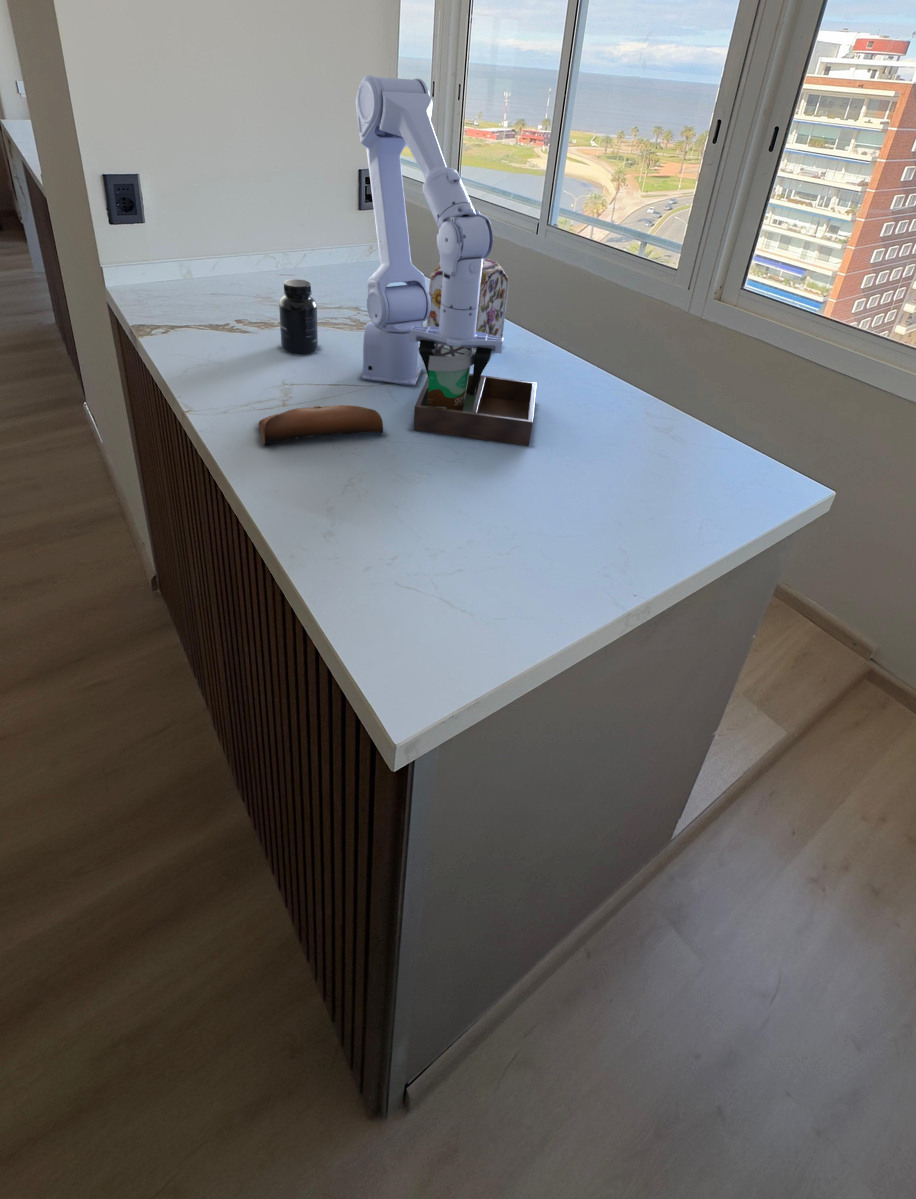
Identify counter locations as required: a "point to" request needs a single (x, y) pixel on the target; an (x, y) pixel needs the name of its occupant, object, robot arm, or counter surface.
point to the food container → (449, 376)
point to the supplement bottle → (298, 318)
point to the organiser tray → (483, 412)
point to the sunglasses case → (319, 422)
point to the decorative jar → (489, 298)
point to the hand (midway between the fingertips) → (452, 390)
